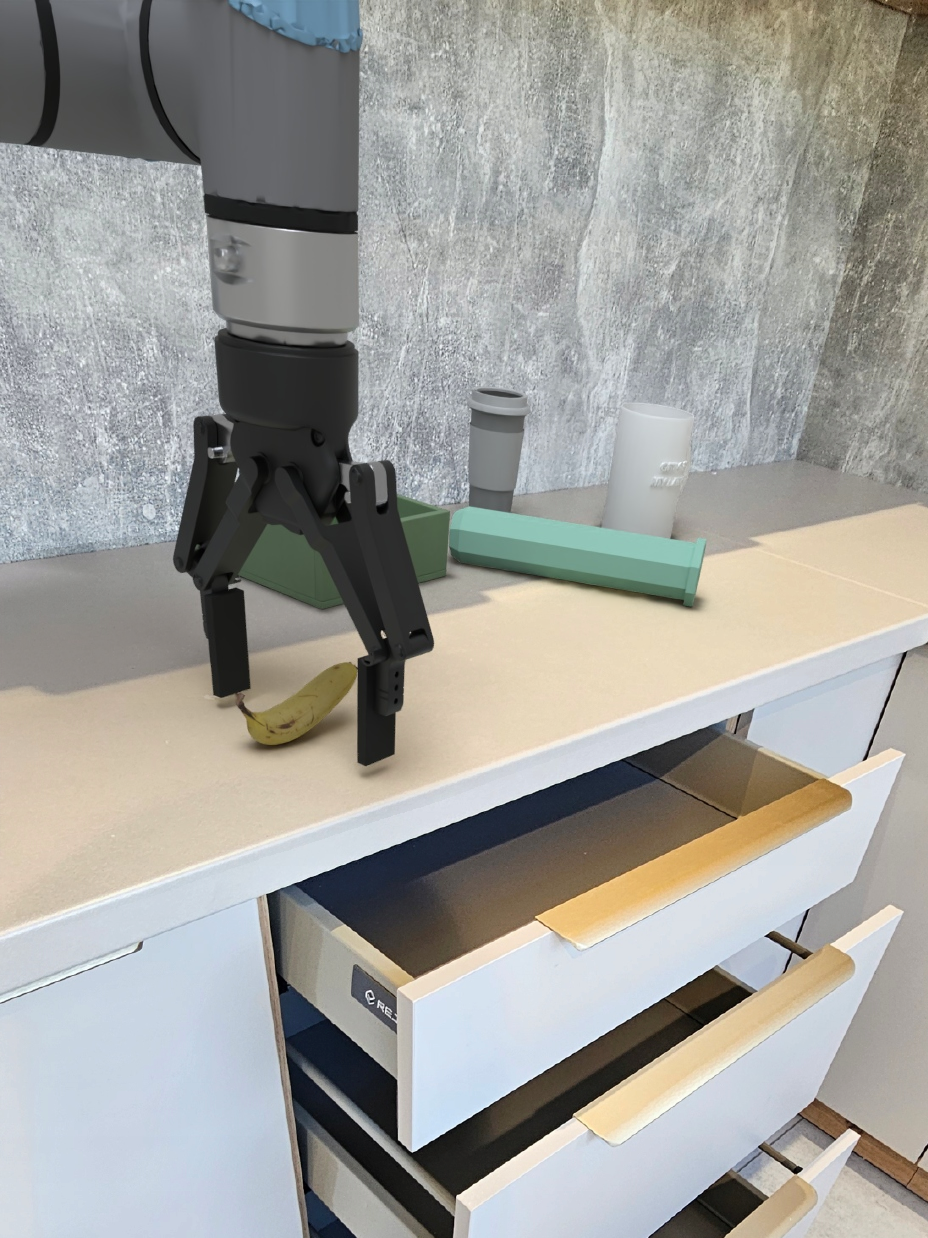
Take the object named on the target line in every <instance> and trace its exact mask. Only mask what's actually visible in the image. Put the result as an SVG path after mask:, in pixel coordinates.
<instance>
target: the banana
mask: <svg viewBox="0 0 928 1238" xmlns="http://www.w3.org/2000/svg"><path fill="white" fill-rule="evenodd" d="M356 680H357V665H355V664H353V662H352V661H349V662H348V661H345V662H339V663H336V664H333V665H332V666H329V667H328V668H325V670H323V671H321V672H320V673H318V674H317V675H316V676H314V678H312V679H311V680H309V682H307V683H306V684H305V685H304V686H302V687H301V688H300V689H299V690H298V691H297V692H295V693H294V694H293V695H291V696H290V697H288V698H287V699H285V700H283V701H282V702H280V703H278V704H277V705H275V706H273V707H271V708H269V709H267V710H263V711H257V712H256V711H255V712H253V711H251V710H250V709H248V708H247V707H246V706H245V702H244V698H245V697H246V695H245V694H244V693H243V692H239V693H235V694H234V695H235V697H236V699H235V703H236V704H235V705H236V706H237V708H238V710H239V711H240V712H241V713H242V715H243V716H244V718H245V720H246V728H247V729H246V730H247V733H248V734H249V735H250V737H251V738H252V739H253V740H254V741H256V742H258V743H259V744H262V745H267V746H276V745H277V746H278V745H282V744H285V743H288V742H291V741H293V740H295V739H298V738H300V737H302V736H303V735H304V734H306V733H308V732H309V731H311V730H312V729H313V728H315V726H316V725H318V724H319V723H320V722H321V721H322V720H323V719H324V718H326V716H328V715H329V714H330V713H331V712H332V711H333V710H334V709H335V708H336V707H337V706H338V704H339V703H340V702H341V701H342V700H344V698H345V697H346V696H347V695H348V694H349V692H350V690H351V689H352V687H353V686H354V683H355V681H356Z"/></svg>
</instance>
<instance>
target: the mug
mask: <svg viewBox="0 0 928 1238" xmlns="http://www.w3.org/2000/svg"><path fill="white" fill-rule="evenodd" d="M694 424H695V415H694V413H692V412H690V411H688V410H684V409H681V408H677V407H673V406H669V405H664V404H657V403H656V404H655V403H649V402H624V403H622V404H621V406H620V407H619V412H618V419H617V425H616V432H615V439H614V443H613V450H612V451H613V452H612V457H611V464H610V470H609V475H608V483H607V489H606V496H605V503H604V508H603V515H602V522H601V528H606V529H612V530H619V531H625V532H631V533H637V534H643V535H650V536H656V537H662V538H668V539H672V538H671V537H672V533H673V528H674V524H675V518H676V513H677V508H678V503H679V499H680V497H681V496H682V493H683V491H684V490H685V487H686V485H687V482H688V480H689V479H688V478H689V475H690V471H691V466H692V465H691V464H692V447H691V438H692V433H693V428H694Z"/></svg>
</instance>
